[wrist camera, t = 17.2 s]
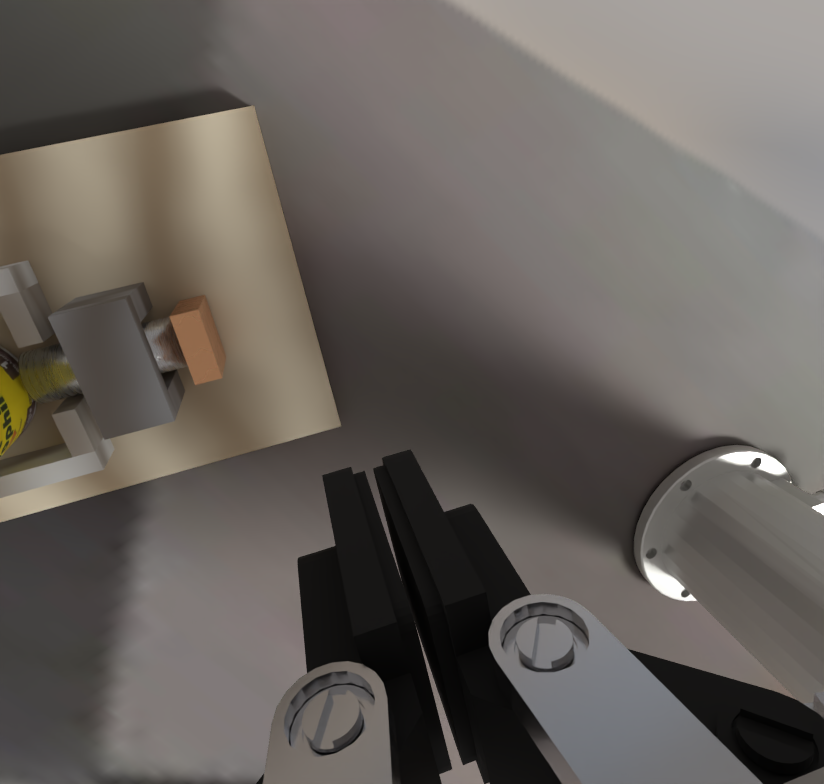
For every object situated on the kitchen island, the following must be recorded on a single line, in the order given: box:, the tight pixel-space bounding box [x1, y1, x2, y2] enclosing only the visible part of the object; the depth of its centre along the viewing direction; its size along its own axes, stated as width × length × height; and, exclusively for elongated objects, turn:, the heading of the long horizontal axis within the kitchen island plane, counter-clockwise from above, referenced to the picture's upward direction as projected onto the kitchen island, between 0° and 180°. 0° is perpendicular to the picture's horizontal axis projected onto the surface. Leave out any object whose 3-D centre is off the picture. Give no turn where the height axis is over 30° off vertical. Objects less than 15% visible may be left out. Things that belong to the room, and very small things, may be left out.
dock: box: [0, 106, 341, 522], centre depth 25 cm, size 24×16×5 cm, turn 99°
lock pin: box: [18, 295, 226, 404], centre depth 26 cm, size 8×3×3 cm, turn 99°
